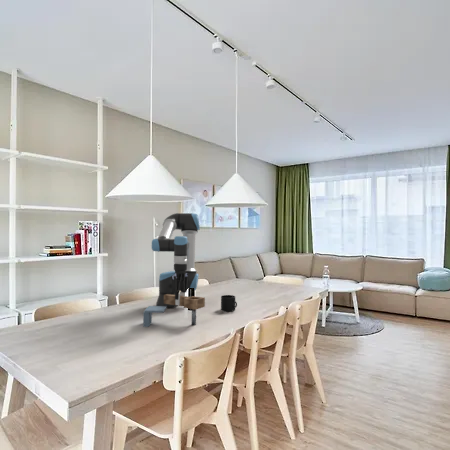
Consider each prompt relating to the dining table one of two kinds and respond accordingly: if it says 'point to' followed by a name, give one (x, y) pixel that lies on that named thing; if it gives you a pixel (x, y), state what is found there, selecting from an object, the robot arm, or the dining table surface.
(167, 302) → the link
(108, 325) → the dining table surface
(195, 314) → the pintle
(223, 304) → the mug
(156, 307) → the keeper
